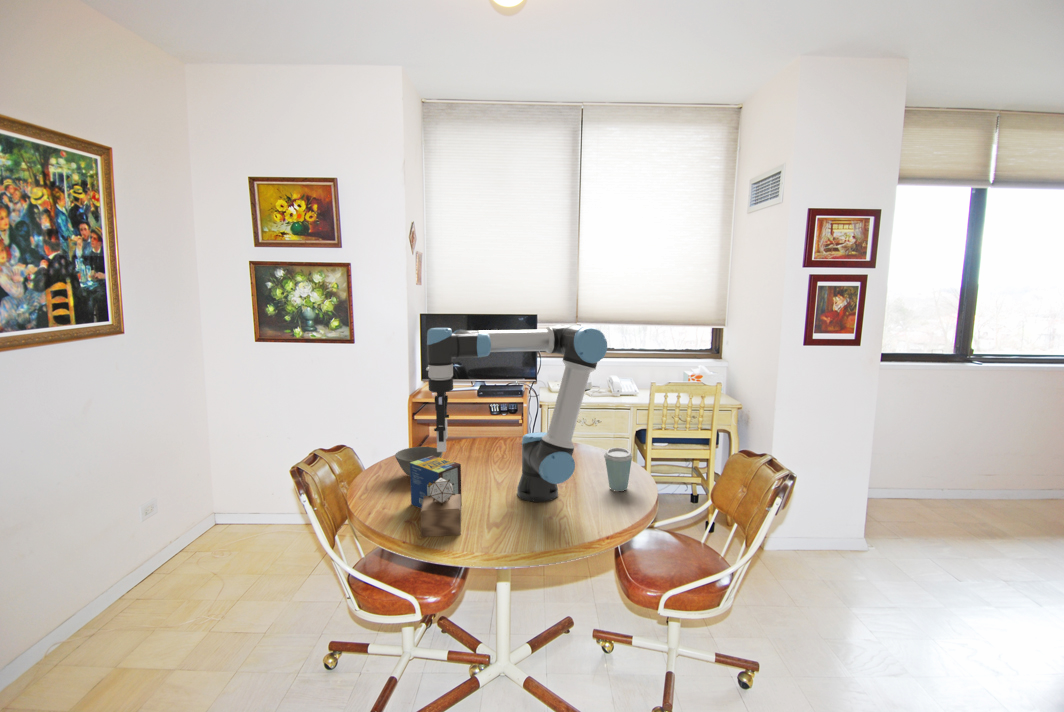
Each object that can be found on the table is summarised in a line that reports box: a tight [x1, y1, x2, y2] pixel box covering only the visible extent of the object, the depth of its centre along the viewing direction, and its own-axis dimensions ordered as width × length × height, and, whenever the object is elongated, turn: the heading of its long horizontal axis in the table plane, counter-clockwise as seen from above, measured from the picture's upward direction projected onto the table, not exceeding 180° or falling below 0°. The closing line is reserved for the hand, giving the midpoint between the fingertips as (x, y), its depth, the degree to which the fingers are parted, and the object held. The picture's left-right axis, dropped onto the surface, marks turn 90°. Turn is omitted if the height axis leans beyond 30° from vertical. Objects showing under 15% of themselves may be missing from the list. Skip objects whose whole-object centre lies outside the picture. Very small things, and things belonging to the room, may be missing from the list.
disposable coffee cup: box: [603, 447, 633, 492], centre depth 189 cm, size 11×11×15 cm
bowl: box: [394, 446, 444, 478], centre depth 201 cm, size 19×19×10 cm
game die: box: [428, 475, 455, 506], centre depth 157 cm, size 9×8×10 cm
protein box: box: [409, 455, 463, 509], centre depth 173 cm, size 10×15×16 cm
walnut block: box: [420, 493, 462, 538], centre depth 158 cm, size 12×12×8 cm
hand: (442, 444), depth 156 cm, fingers open, 13 cm apart
